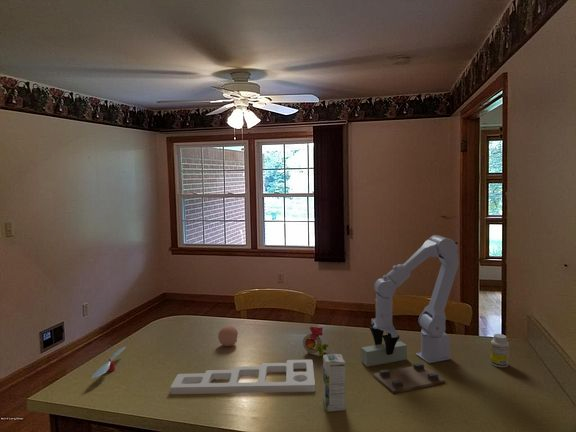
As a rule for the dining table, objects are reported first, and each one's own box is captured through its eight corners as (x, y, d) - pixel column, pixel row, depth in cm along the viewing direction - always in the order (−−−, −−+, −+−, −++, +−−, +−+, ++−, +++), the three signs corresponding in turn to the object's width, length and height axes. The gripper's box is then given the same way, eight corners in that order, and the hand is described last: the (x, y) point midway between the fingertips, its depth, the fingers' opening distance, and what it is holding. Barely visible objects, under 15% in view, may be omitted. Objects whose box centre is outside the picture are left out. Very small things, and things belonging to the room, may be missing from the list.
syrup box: (322, 401, 124) (321, 354, 123) (342, 400, 125) (341, 353, 123) (325, 412, 118) (325, 362, 117) (346, 410, 119) (345, 361, 118)
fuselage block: (400, 355, 155) (400, 341, 154) (406, 359, 151) (406, 345, 150) (361, 362, 150) (361, 347, 149) (366, 367, 146) (366, 351, 145)
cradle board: (422, 366, 145) (422, 360, 144) (445, 382, 133) (445, 375, 133) (373, 376, 139) (373, 369, 139) (393, 393, 128) (393, 386, 127)
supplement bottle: (496, 359, 149) (496, 331, 148) (511, 365, 144) (512, 336, 143) (487, 363, 146) (487, 335, 145) (502, 369, 141) (503, 340, 140)
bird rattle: (307, 362, 155) (329, 355, 152) (295, 335, 155) (316, 327, 153) (310, 355, 161) (332, 348, 158) (299, 329, 161) (320, 321, 159)
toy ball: (242, 344, 168) (241, 325, 168) (229, 351, 162) (229, 331, 161) (227, 340, 173) (226, 321, 172) (214, 347, 166) (213, 327, 165)
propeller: (131, 355, 160) (130, 344, 160) (98, 388, 136) (97, 376, 135) (120, 355, 161) (120, 344, 160) (85, 388, 136) (84, 375, 135)
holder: (170, 395, 131) (170, 387, 130) (185, 369, 149) (184, 361, 148) (315, 393, 130) (315, 384, 130) (312, 366, 148) (312, 359, 148)
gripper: (364, 308, 154) (364, 343, 156) (384, 320, 141) (384, 359, 142) (380, 306, 156) (380, 341, 158) (403, 318, 143) (402, 356, 144)
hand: (383, 350), depth 150 cm, fingers open, 7 cm apart
